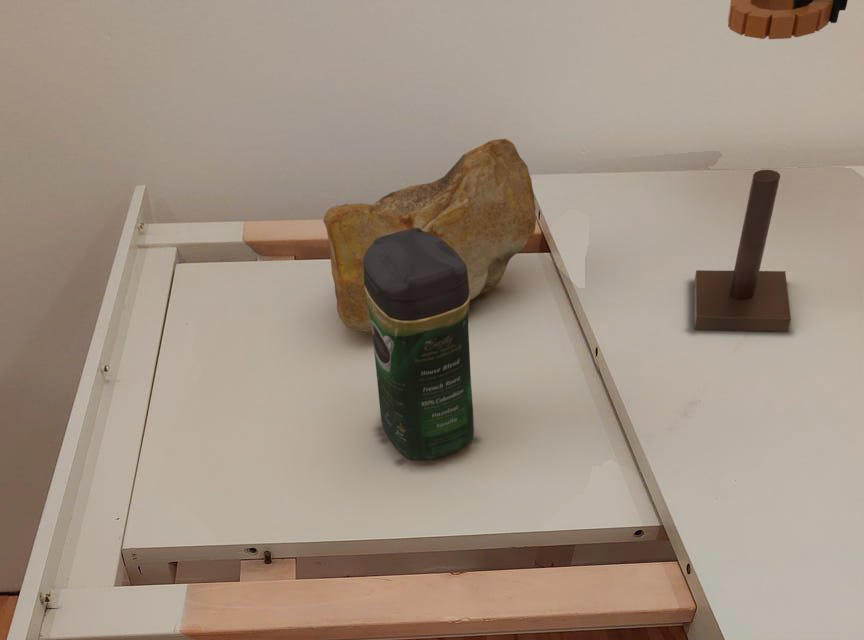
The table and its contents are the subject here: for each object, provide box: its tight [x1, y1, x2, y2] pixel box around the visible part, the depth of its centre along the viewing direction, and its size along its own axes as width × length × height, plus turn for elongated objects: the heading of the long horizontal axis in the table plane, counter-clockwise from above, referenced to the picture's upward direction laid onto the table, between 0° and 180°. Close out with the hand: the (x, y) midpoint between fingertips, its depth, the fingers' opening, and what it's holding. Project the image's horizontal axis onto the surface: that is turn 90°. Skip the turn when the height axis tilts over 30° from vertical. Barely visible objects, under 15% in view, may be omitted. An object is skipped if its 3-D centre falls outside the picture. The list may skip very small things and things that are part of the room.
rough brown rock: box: [323, 138, 537, 335], centre depth 100 cm, size 23×17×15 cm
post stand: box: [693, 169, 792, 333], centre depth 92 cm, size 9×9×14 cm
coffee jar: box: [363, 228, 475, 462], centre depth 82 cm, size 10×8×19 cm
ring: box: [727, 0, 833, 40], centre depth 98 cm, size 10×10×2 cm
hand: (816, 17), depth 97 cm, fingers closed on ring, 2 cm apart
